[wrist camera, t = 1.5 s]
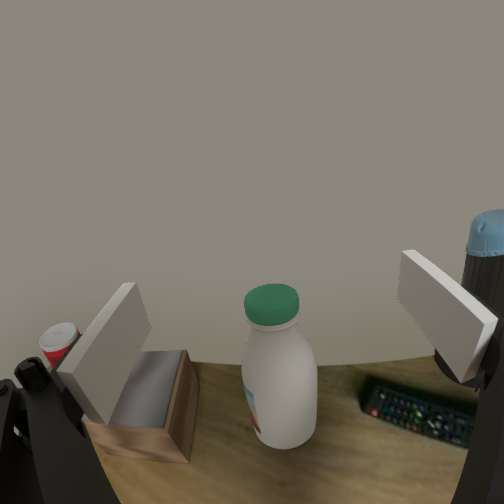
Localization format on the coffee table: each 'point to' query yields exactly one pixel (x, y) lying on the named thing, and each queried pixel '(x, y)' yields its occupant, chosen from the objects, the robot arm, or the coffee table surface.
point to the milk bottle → (279, 368)
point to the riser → (153, 410)
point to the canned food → (58, 341)
